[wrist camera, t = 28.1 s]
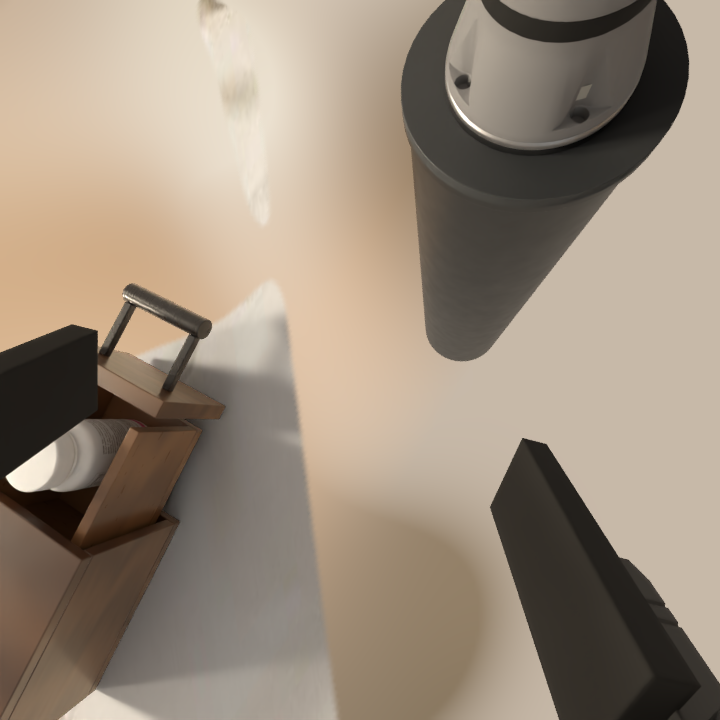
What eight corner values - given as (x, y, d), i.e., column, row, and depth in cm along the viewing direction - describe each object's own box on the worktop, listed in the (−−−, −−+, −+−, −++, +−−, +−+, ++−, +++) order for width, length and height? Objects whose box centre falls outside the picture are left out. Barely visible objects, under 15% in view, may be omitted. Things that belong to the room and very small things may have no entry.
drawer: (160, 294, 36) (86, 260, 28) (257, 342, 33) (206, 319, 26) (54, 495, 35) (-52, 516, 27) (148, 559, 32) (60, 602, 25)
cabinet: (77, 454, 36) (-49, 466, 26) (180, 521, 33) (81, 560, 24) (-4, 609, 35) (-164, 678, 26) (95, 690, 32) (-42, 799, 23)
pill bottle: (113, 414, 33) (9, 411, 25) (163, 425, 33) (72, 426, 24) (98, 472, 33) (-13, 489, 25) (149, 485, 32) (51, 507, 24)
